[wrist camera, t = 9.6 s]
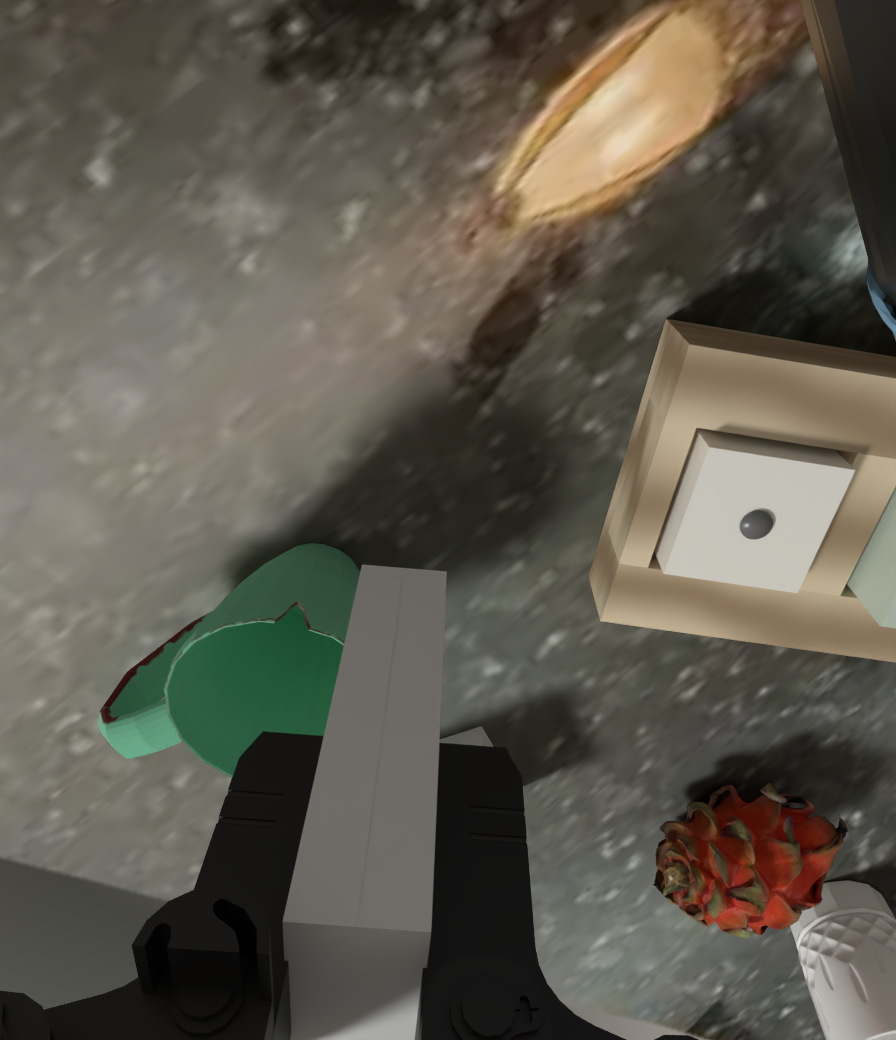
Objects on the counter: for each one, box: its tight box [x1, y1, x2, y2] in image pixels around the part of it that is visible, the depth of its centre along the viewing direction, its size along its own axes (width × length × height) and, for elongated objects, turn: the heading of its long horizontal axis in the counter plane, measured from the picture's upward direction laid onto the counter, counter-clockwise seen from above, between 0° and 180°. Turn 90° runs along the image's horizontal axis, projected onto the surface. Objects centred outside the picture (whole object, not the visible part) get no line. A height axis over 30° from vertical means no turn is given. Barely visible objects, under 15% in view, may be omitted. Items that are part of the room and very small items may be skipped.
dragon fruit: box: [653, 783, 847, 938], centre depth 46 cm, size 8×8×12 cm
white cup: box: [790, 880, 896, 1040], centre depth 50 cm, size 8×8×10 cm
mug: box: [99, 543, 360, 778], centre depth 37 cm, size 15×10×10 cm
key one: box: [654, 428, 856, 593], centre depth 35 cm, size 6×6×4 cm
